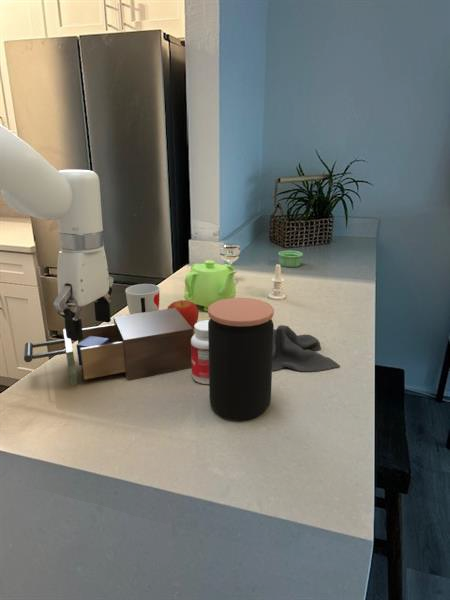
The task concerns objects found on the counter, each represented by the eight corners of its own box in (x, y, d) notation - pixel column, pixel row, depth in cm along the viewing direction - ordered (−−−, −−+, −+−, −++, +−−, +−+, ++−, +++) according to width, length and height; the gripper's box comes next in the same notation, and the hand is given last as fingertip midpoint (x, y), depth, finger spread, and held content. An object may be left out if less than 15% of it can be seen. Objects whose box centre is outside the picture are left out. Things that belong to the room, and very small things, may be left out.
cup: (140, 336, 102) (136, 296, 98) (122, 326, 107) (119, 288, 104) (168, 327, 107) (166, 289, 104) (150, 318, 113) (147, 281, 109)
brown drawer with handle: (28, 393, 77) (22, 360, 75) (29, 365, 87) (24, 334, 85) (138, 372, 84) (135, 341, 82) (127, 348, 94) (125, 319, 92)
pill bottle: (195, 368, 87) (194, 317, 84) (225, 370, 87) (225, 319, 83) (188, 384, 82) (186, 330, 78) (220, 386, 81) (220, 332, 77)
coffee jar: (277, 394, 78) (281, 301, 72) (259, 428, 69) (262, 325, 63) (223, 383, 82) (222, 294, 76) (199, 414, 72) (196, 315, 66)
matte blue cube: (79, 365, 85) (76, 344, 83) (92, 355, 89) (89, 335, 87) (98, 368, 83) (96, 347, 82) (111, 358, 87) (109, 338, 86)
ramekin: (291, 269, 156) (291, 257, 154) (273, 264, 162) (273, 253, 161) (307, 265, 161) (307, 253, 160) (288, 260, 168) (289, 249, 166)
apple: (165, 337, 101) (163, 306, 99) (169, 324, 109) (167, 295, 106) (197, 337, 101) (197, 306, 98) (200, 324, 108) (199, 295, 106)
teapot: (244, 298, 127) (245, 256, 123) (236, 315, 114) (237, 269, 110) (192, 294, 130) (191, 253, 126) (178, 311, 117) (176, 266, 113)
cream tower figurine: (285, 294, 130) (287, 260, 126) (286, 300, 125) (287, 265, 122) (268, 293, 131) (269, 260, 127) (268, 299, 126) (269, 265, 122)
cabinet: (127, 380, 83) (123, 340, 80) (117, 353, 94) (113, 316, 91) (194, 367, 88) (193, 328, 85) (177, 342, 99) (175, 307, 96)
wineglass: (216, 281, 143) (215, 245, 139) (233, 277, 146) (233, 243, 142) (227, 286, 137) (227, 249, 133) (244, 282, 141) (245, 246, 137)
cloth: (226, 366, 88) (226, 339, 86) (246, 331, 105) (247, 307, 103) (339, 381, 82) (342, 352, 80) (341, 341, 99) (343, 316, 97)
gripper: (92, 232, 87) (98, 312, 92) (30, 248, 71) (42, 344, 76) (125, 234, 84) (129, 317, 90) (69, 252, 69) (79, 350, 74)
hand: (89, 329), depth 83 cm, fingers open, 8 cm apart
